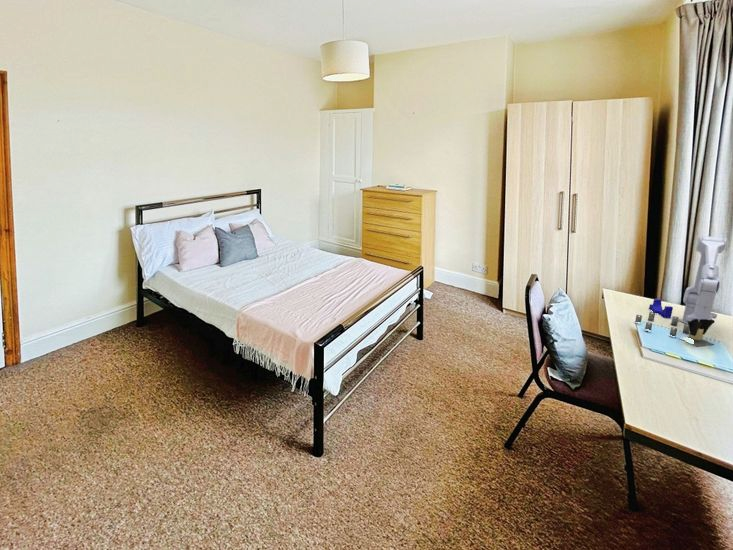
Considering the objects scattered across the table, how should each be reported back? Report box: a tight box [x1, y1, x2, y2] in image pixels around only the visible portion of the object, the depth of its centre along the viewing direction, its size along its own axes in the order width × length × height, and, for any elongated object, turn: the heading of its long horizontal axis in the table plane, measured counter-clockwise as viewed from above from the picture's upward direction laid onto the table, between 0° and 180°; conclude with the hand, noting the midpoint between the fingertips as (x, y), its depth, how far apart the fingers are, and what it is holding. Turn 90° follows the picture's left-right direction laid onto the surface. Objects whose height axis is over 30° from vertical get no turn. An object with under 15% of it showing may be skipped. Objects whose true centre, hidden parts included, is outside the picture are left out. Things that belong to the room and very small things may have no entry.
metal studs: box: [634, 311, 690, 337], centre depth 201 cm, size 21×20×4 cm
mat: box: [686, 335, 714, 347], centre depth 188 cm, size 9×9×1 cm
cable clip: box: [648, 298, 674, 319], centre depth 218 cm, size 12×4×6 cm, turn 173°
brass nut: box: [688, 326, 704, 340], centre depth 187 cm, size 4×5×5 cm
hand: (697, 334), depth 187 cm, fingers closed on brass nut, 4 cm apart
